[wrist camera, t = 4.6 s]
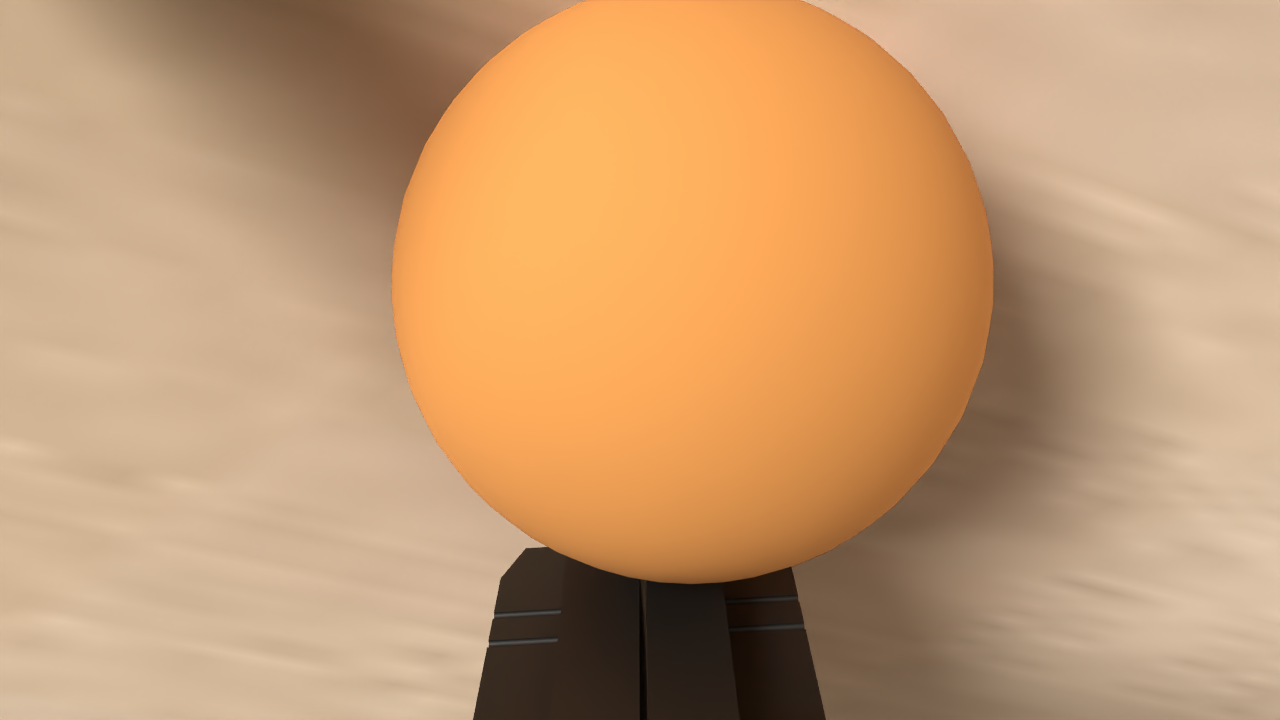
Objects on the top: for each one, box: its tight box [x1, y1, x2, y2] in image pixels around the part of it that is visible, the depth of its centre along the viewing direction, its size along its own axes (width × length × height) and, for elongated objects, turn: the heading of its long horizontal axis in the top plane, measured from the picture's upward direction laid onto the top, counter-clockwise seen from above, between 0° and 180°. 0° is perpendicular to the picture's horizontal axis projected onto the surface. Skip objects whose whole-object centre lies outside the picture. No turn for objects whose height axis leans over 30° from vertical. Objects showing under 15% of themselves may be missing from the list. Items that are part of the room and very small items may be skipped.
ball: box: [392, 0, 994, 584], centre depth 9 cm, size 5×5×5 cm
